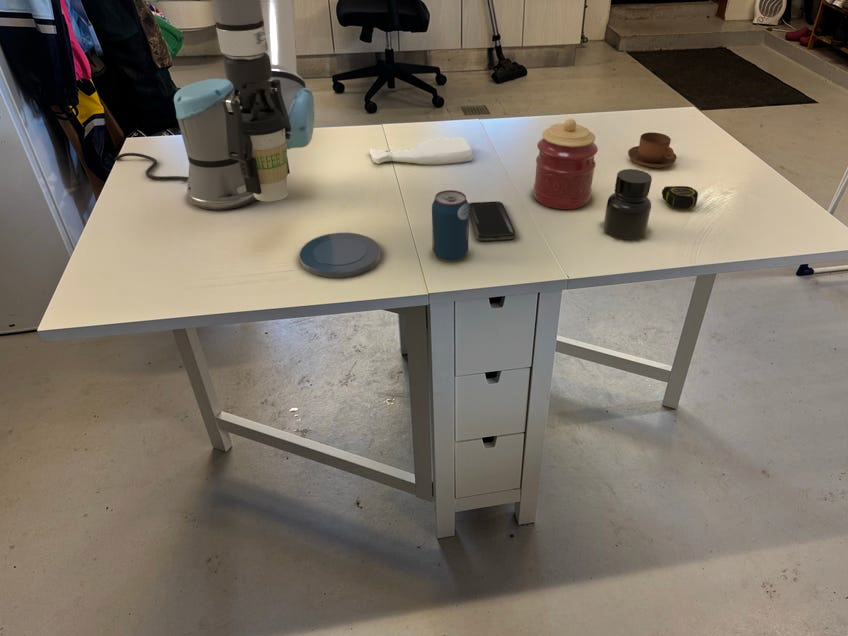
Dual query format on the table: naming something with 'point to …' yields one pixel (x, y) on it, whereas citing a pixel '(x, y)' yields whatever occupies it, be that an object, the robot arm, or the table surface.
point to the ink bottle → (629, 205)
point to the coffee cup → (269, 153)
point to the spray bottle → (429, 152)
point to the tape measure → (680, 196)
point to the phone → (490, 221)
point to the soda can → (450, 225)
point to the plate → (340, 255)
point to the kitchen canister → (565, 166)
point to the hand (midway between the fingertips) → (268, 182)
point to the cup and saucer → (653, 151)
